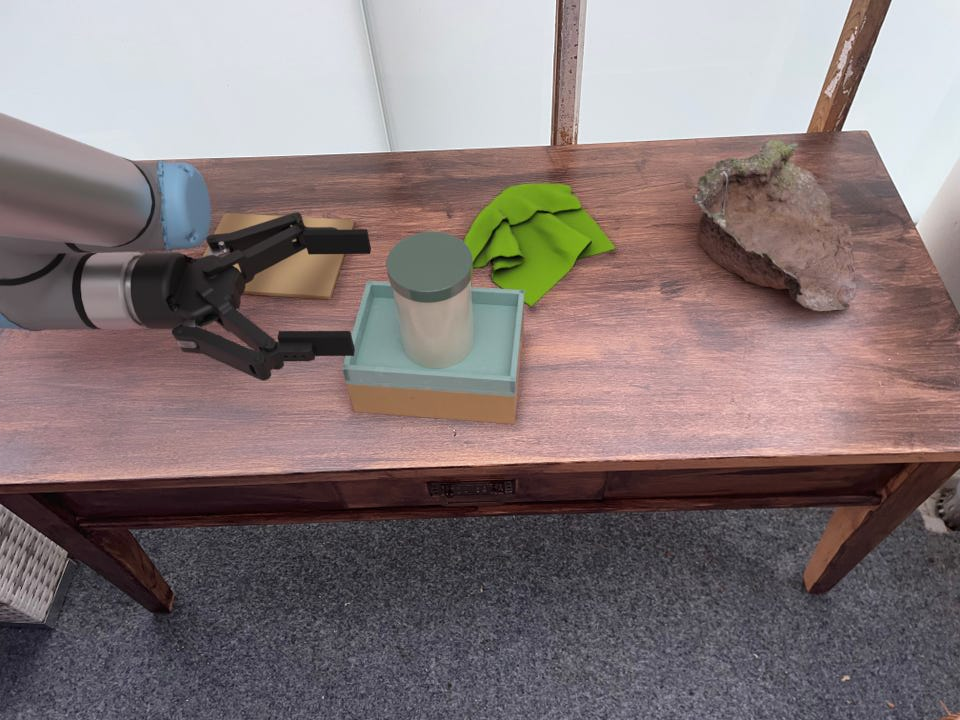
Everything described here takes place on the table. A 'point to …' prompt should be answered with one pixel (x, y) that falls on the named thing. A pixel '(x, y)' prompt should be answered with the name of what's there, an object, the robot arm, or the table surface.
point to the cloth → (534, 237)
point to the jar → (433, 297)
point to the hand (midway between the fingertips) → (361, 289)
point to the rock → (776, 228)
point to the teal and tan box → (444, 391)
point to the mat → (292, 262)
